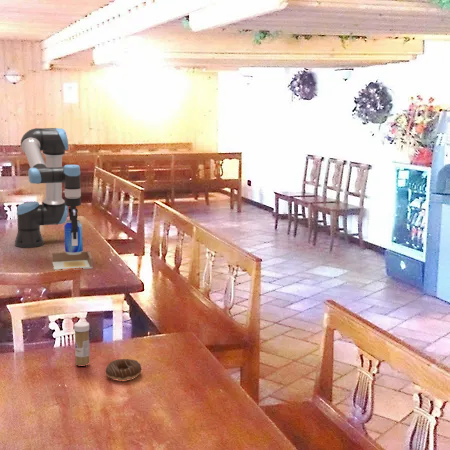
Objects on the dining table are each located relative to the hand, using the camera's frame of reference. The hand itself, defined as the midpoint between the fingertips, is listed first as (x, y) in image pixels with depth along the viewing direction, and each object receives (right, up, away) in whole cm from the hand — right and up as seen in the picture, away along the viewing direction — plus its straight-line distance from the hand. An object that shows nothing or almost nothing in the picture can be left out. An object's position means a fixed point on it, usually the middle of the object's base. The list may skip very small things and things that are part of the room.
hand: (73, 243), depth 314 cm
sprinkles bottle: (+29, -35, -113) cm, 122 cm away
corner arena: (-1, -11, +2) cm, 11 cm away
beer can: (0, -5, +1) cm, 5 cm away
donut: (+43, -37, -120) cm, 133 cm away
